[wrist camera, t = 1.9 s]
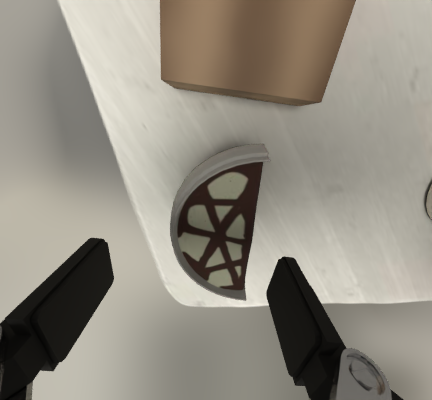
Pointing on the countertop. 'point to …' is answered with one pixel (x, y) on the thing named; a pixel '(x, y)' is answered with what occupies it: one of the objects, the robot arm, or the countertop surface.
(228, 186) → the food container
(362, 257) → the countertop surface
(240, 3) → the walnut stand
